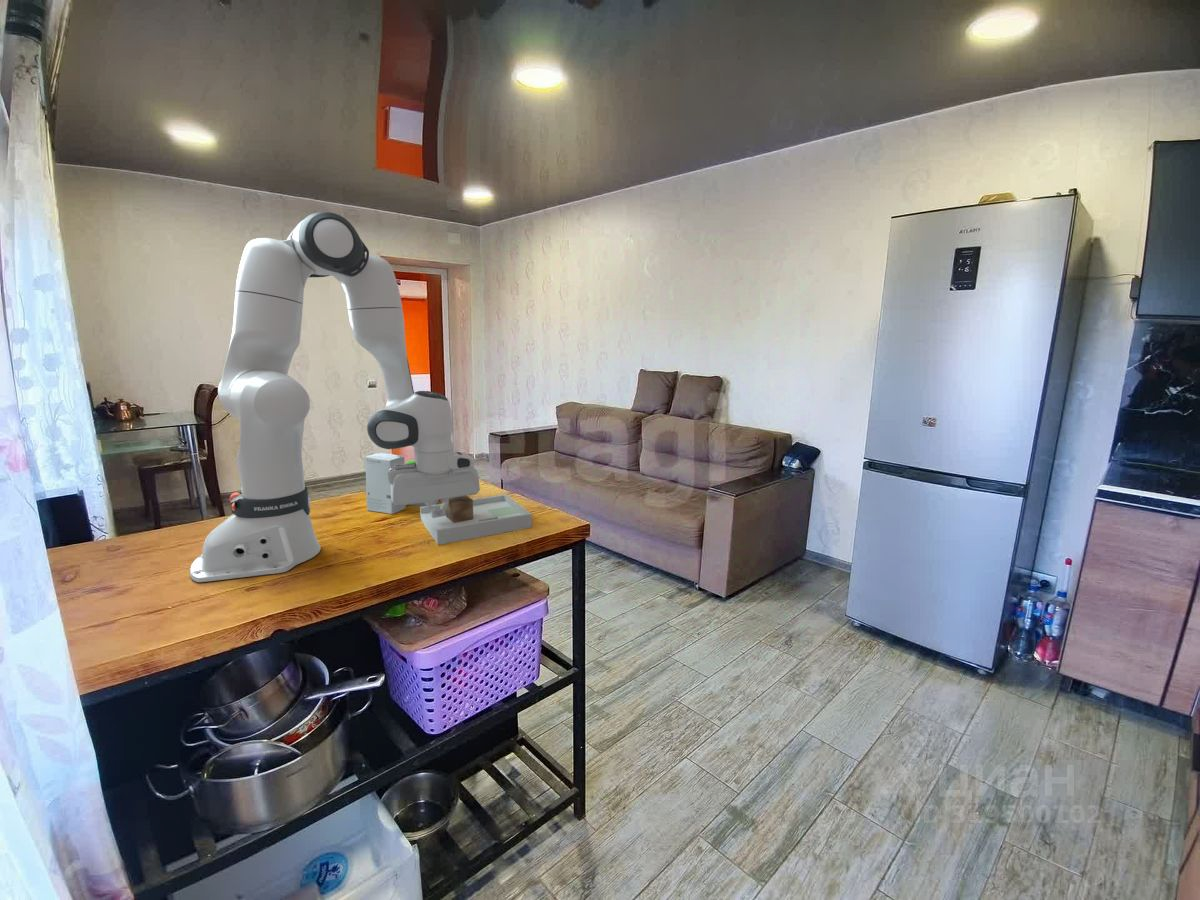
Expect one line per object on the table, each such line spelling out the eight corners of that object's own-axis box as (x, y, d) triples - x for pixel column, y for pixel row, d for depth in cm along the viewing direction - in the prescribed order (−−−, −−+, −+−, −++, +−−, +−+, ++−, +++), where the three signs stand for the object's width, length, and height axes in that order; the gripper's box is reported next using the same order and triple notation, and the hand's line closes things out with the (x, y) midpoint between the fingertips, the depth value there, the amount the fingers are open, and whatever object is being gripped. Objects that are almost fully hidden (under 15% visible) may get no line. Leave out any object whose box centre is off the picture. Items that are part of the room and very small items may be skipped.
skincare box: (366, 511, 136) (362, 456, 133) (382, 504, 142) (378, 451, 138) (393, 515, 134) (389, 459, 130) (408, 507, 140) (404, 454, 136)
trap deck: (438, 544, 116) (437, 530, 115) (420, 520, 131) (420, 506, 130) (531, 527, 127) (531, 514, 127) (506, 506, 142) (505, 494, 141)
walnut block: (453, 523, 124) (452, 503, 122) (446, 517, 128) (445, 497, 126) (473, 519, 126) (472, 499, 125) (465, 513, 130) (465, 494, 129)
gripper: (389, 469, 113) (394, 528, 116) (480, 459, 123) (482, 513, 126) (385, 462, 118) (389, 519, 121) (472, 453, 128) (474, 506, 131)
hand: (437, 516), depth 124 cm, fingers closed
